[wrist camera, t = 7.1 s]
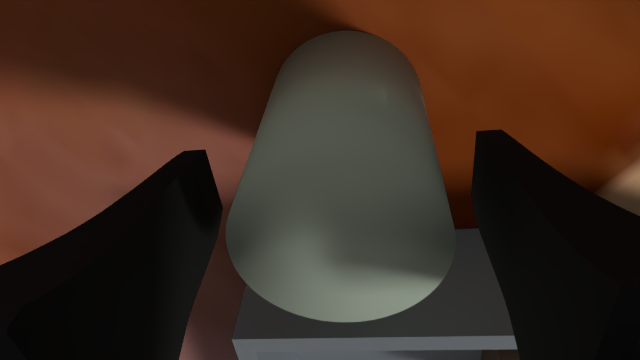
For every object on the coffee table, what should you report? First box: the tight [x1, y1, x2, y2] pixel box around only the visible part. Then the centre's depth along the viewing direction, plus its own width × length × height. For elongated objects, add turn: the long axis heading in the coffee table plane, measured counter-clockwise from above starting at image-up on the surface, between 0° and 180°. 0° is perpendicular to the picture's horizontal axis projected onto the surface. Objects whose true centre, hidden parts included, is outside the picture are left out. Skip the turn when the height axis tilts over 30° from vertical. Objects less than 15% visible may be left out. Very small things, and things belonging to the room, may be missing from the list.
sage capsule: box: [225, 30, 456, 322], centre depth 13 cm, size 5×5×7 cm
